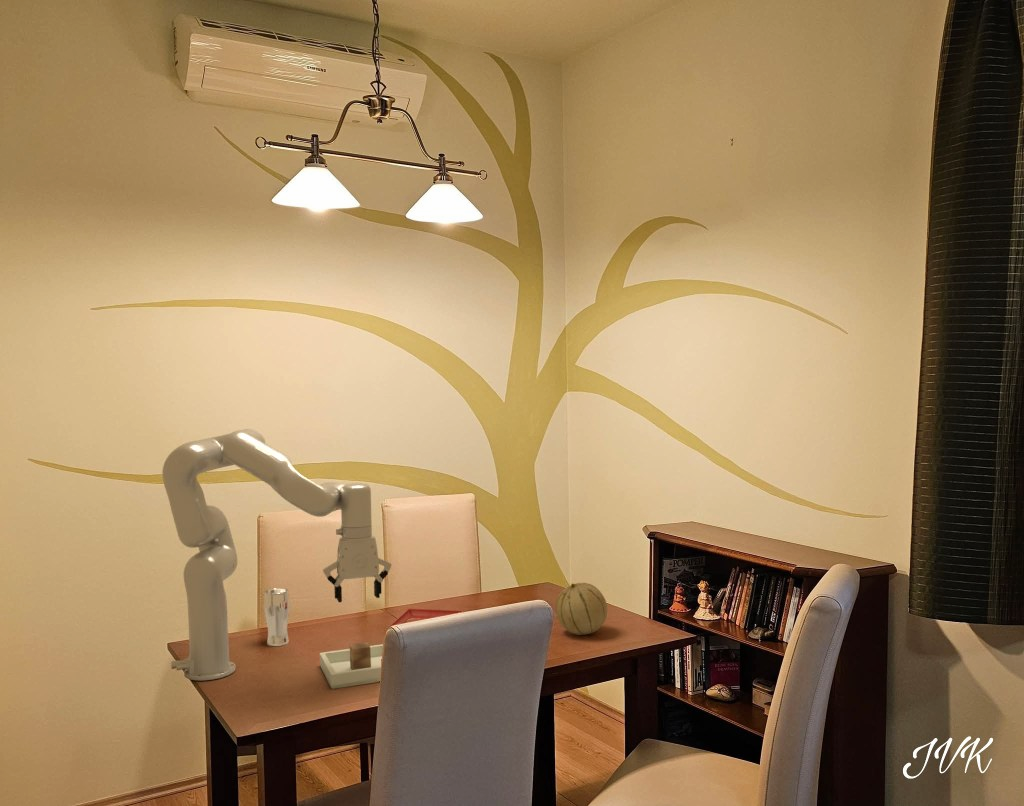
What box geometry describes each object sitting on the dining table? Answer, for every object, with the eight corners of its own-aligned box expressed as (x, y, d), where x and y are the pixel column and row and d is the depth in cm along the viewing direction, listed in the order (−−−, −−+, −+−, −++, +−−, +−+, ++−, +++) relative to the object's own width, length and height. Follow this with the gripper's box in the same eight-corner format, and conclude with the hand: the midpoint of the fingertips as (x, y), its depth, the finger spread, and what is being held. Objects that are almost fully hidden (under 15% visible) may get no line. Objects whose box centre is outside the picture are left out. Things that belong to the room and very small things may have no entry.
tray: (331, 689, 214) (331, 674, 214) (320, 666, 231) (319, 652, 230) (404, 678, 220) (403, 664, 220) (387, 656, 237) (387, 643, 237)
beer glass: (294, 639, 254) (292, 587, 254) (285, 647, 247) (283, 594, 247) (270, 639, 255) (269, 587, 254) (261, 646, 248) (259, 594, 247)
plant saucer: (448, 639, 252) (448, 628, 252) (388, 636, 256) (388, 625, 256) (464, 621, 270) (464, 610, 270) (408, 619, 273) (408, 608, 273)
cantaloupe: (618, 633, 253) (617, 581, 252) (583, 645, 243) (582, 591, 242) (580, 622, 264) (579, 573, 263) (545, 633, 254) (544, 582, 253)
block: (353, 672, 222) (352, 649, 222) (350, 667, 227) (349, 644, 226) (371, 670, 224) (370, 647, 224) (367, 664, 228) (367, 642, 228)
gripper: (324, 537, 217) (326, 606, 218) (393, 532, 224) (395, 598, 224) (320, 532, 224) (321, 599, 225) (386, 527, 231) (388, 591, 231)
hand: (358, 598), depth 225 cm, fingers open, 9 cm apart
